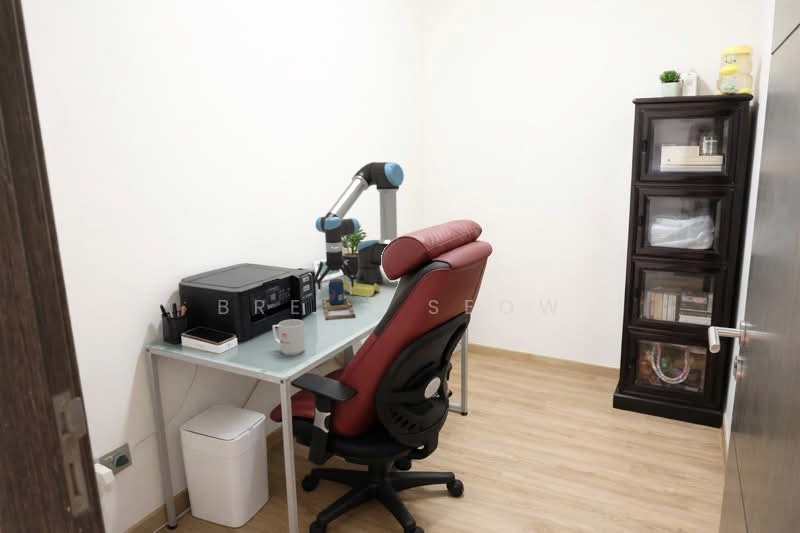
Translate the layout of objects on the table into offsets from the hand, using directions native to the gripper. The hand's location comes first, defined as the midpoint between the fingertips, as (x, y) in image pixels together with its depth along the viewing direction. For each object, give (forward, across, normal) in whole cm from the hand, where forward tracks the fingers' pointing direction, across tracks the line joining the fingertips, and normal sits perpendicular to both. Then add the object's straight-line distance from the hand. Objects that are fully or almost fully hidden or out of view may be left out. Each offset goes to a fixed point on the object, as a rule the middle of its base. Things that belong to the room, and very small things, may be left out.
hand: (336, 295), depth 260 cm
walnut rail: (+5, 0, -7) cm, 9 cm away
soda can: (+5, 0, 0) cm, 5 cm away
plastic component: (+5, +13, +19) cm, 24 cm away
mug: (+5, -22, -55) cm, 59 cm away
